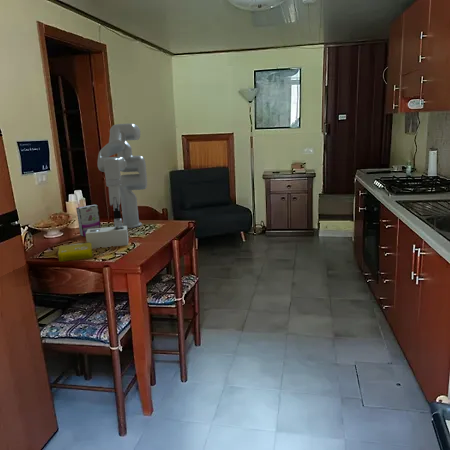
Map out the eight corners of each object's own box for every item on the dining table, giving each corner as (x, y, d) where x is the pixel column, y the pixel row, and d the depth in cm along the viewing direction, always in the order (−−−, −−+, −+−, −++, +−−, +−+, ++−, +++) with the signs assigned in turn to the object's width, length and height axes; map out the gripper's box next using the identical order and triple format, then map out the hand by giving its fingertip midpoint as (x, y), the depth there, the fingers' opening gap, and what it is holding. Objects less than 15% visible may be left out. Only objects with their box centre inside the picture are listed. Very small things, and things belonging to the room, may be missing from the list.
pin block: (89, 243, 217) (87, 229, 216) (128, 240, 221) (126, 225, 219) (87, 248, 208) (85, 233, 206) (128, 244, 211) (126, 229, 210)
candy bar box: (97, 231, 244) (94, 204, 241) (101, 232, 241) (98, 205, 237) (79, 235, 237) (75, 207, 234) (83, 236, 234) (79, 208, 230)
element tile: (92, 250, 207) (90, 240, 206) (93, 258, 193) (92, 248, 192) (60, 254, 202) (58, 245, 201) (59, 263, 188) (57, 253, 187)
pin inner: (115, 229, 215) (114, 218, 214) (123, 229, 216) (121, 217, 215) (114, 231, 212) (113, 220, 210) (122, 230, 212) (121, 219, 211)
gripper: (107, 181, 215) (111, 216, 219) (104, 185, 200) (109, 221, 205) (122, 180, 216) (125, 215, 220) (120, 183, 202) (124, 220, 206)
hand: (117, 218), depth 212 cm, fingers closed
